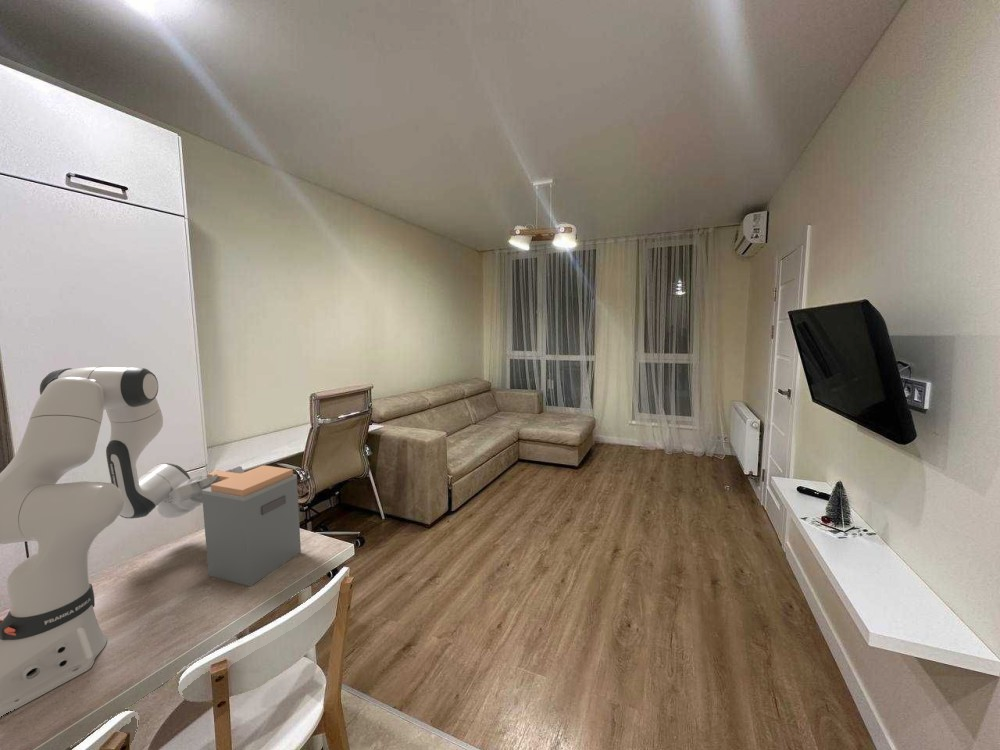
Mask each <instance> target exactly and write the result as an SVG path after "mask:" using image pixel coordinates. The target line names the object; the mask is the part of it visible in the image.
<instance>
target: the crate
mask: <svg viewBox="0 0 1000 750" xmlns="http://www.w3.org/2000/svg"><path fill="white" fill-rule="evenodd" d="M298 488H299V487H298V474H294V473H293V475H292V476H289V477H287V478H285V479H282V480H280V481H278V482H275V483H273V484H271V485H268V486H266V487H264V488H262V489H259V490H257V491H255V492H252V493H250V494H248V495H245V496H237V495H232V494H226V493H220V492H215V491H211V487H209V488H206V489H203V490H202V500H203V504H202V511H203V522H204V523H203V524H204V536H205V548H206V560H207V573H208V577H209V576H210V577H213V578H217V579H220V580H224V581H229V582H232V583H234V584H235V583H236V584H239V585H242V586H247V587H252V586H253V585H254V584H256V583H257V582H259V581H260V580H262V579H263V578H265V577H267V576H268V575H270V574H271V573H272V572H274V571H275V570H277V569H279V568H280V567H281V566H283V565H284V564H285V563H287V562H289V561H290V560H292V559H293V558H294V557H296V556H297V555H299V554H300V553H301V551H302V550H301V548H302V547H301V545H302V544H301V531H300V529H301V528H300V514H299V511H300V509H299V508H300V507H299V492H298Z"/></svg>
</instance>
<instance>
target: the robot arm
mask: <svg viewBox="0 0 1000 750" xmlns="http://www.w3.org/2000/svg"><path fill="white" fill-rule="evenodd" d="M158 392H159V382H158V378H157V377H156V375H155V374H154V373H153V372H152V371H151V370H149V369H147V368H145V367H138V366H129V367H122V366H121V367H120V366H119V367H118V366H88V367H79V368H78V367H77V368H71V367H69V368H68V367H67V368H61V369H57V370H54V371H51V372H49V373H48V374H47V375H46V376H45V377H44V378H43V379H42V380H41V382H40V384H39V398H38V399H37V401H36V403H35V405H34V406H33V409H32V411H31V414H30V417H29V420H28V421H27V423H28V424H27V425H26V427H25V431H24V434H23V436H22V439H21V442H20V444H19V447H18V449H17V451H16V454H15V455H14V456H13V458H12V459H11V460H10V462H8V463H9V464H7V466H6V467H5V468H4V469H3V470H2V471H1V472H0V546H1V545H2V546H3V545H8V544H10V545H11V544H16V543H25V542H32V541H33V542H37V544H38V550H37V552H36V553H34V554H32V555H31V556H29V557H27V558H25V559H24V560H22V561H21V562H19V563H18V564H17V565H16V566H15V567H13V568H12V570H11V571H10V572H9V574H8V576H7V578H6V582H5V583H6V584H5V585H6V592H7V600H8V605H9V611H8V613H7V614H6V615H5V617H4V618H3V620H2V619H0V718H2V717H4V716H5V715H4V714H6V713H8V712H9V713H11V712H13V711H15V710H17V709H18V708H20V707H23V706H25V705H26V704H27V703H29V702H32V701H33V700H36V699H37V698H39V697H41V696H42V695H45V694H46V693H48V692H50V691H53V689H56V688H58V687H59V686H61V685H64V684H65V683H67V682H68V681H70V680H73V679H74V678H76V677H78V676H80V675H82V674H83V673H86V672H88V671H89V670H90V669H91V668H92V667H93V665H94V663H95V659H96V657H97V656H98V655H99V654H100V653H101V652H102V651H103V650H104V648H105V647H106V644H107V637H106V634H105V633H104V631H103V630H102V629H101V626H100V625H99V622H98V619H97V616H96V613H95V609H94V608H95V605H96V604H95V592H94V587H93V585H92V583H91V582H90V580H89V579H90V577H89V553H90V549H91V547H92V545H93V542H94V541H95V540H96V539H97V537H98V536H99V534H100V533H102V532H103V531H104V530H105V529H106V528H107V527H109V526H110V525H112V524H113V523H114V522H115V520H117V519H118V518H119V516H120V517H121V518H124V519H138V518H139V519H140V518H144V517H147V516H148V515H149V514H150V513H151V512H153V510H154V509H155V508H156V509H157V512H158V514H159V516H161V517H163V518H167V519H173V518H180V517H181V516H185V515H186V514H188V513H190V512H192V511H193V510H195V509H196V508H197V507H200V506H203V500H202V490H203V489H206V488H209V487H211V484H214V483H217V482H219V481H222V480H218V479H219V477H218V475H217V474H215V475H212V476H210V477H209V478H207V474H205V475H196V476H192V477H190V474H189V473H188V472H187V471H186V470H185V469H184V468H183V467H181V466H180V465H177V464H174V463H168V462H165V463H164V462H163V463H162V462H161V463H160V464H157V465H155V466H154V467H152V468H151V469H149V470H148V471H147V472H145V473H144V474H143V475H142V476H140V477H139V475H138V469H137V461H138V459H139V457H140V455H141V454H142V452H143V451H144V450H145V448H146V447H147V446H148V445H149V444H150V443H151V442H152V441H153V440H154V439H155V438H156V437H157V436H158V435H159V433H160V432H161V430H162V428H163V426H164V425H163V424H164V417H163V413H162V409H161V407H160V405H159V402H158V399H157V398H156V397H157V395H158ZM104 410H105V411H106V415H107V417H108V420H109V423H110V439H109V442H108V444H107V446H106V447H105V448H106V449H105V456H106V462H107V467H108V472H109V477H110V478H109V479H110V482H103V481H102V482H101V481H86V480H85V481H73V482H64V483H63V482H62V483H58V481H59V480H60V479H61V478H63V476H64V475H66V474H67V473H69V472H70V471H72V470H73V469H75V468H78V467H80V466H83V465H84V464H86V463H87V462H89V460H90V459H91V458H92V457H93V455H94V453H95V450H96V446H97V442H98V437H99V434H100V429H101V425H102V421H103V416H104ZM225 471H227V472H233V473H239V474H241V473H244V472H245V471H244V468H243V467H242V466H241V465H236V466H235V467H233V468H229V469H226V470H225ZM14 709H15V710H14ZM10 711H11V712H10ZM9 713H8V714H9ZM3 715H4V716H3ZM6 715H7V714H6ZM1 716H2V717H1Z"/></svg>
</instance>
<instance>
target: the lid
mask: <svg viewBox="0 0 1000 750" xmlns="http://www.w3.org/2000/svg"><path fill="white" fill-rule="evenodd" d="M215 474H217V475H218V477H219V479H218V480H222V481H219V482H217V483H214V484H211V491H215V492H220V493H226V494H232V495H237V496H245V495H248V494H250V493H252V492H255V491H257V490H259V489H262V488H264V487H266V486H268V485H271V484H273V483H275V482H278V481H280V480H282V479H285V478H287V477H289V476H292V475H293V474H294V469H293V468H286V467H279V466H278V467H277V466H271V465H264V464H263V465H261V466H257V467H255V468H253V469H249V470H247V471H244V473H241V474H239V473H233V472H227V471H226V470H220V469H219V470H218V469H217V470H214V471H212V472H209V473H206V475H207V478H209V477H210V476H212V475H215Z"/></svg>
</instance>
